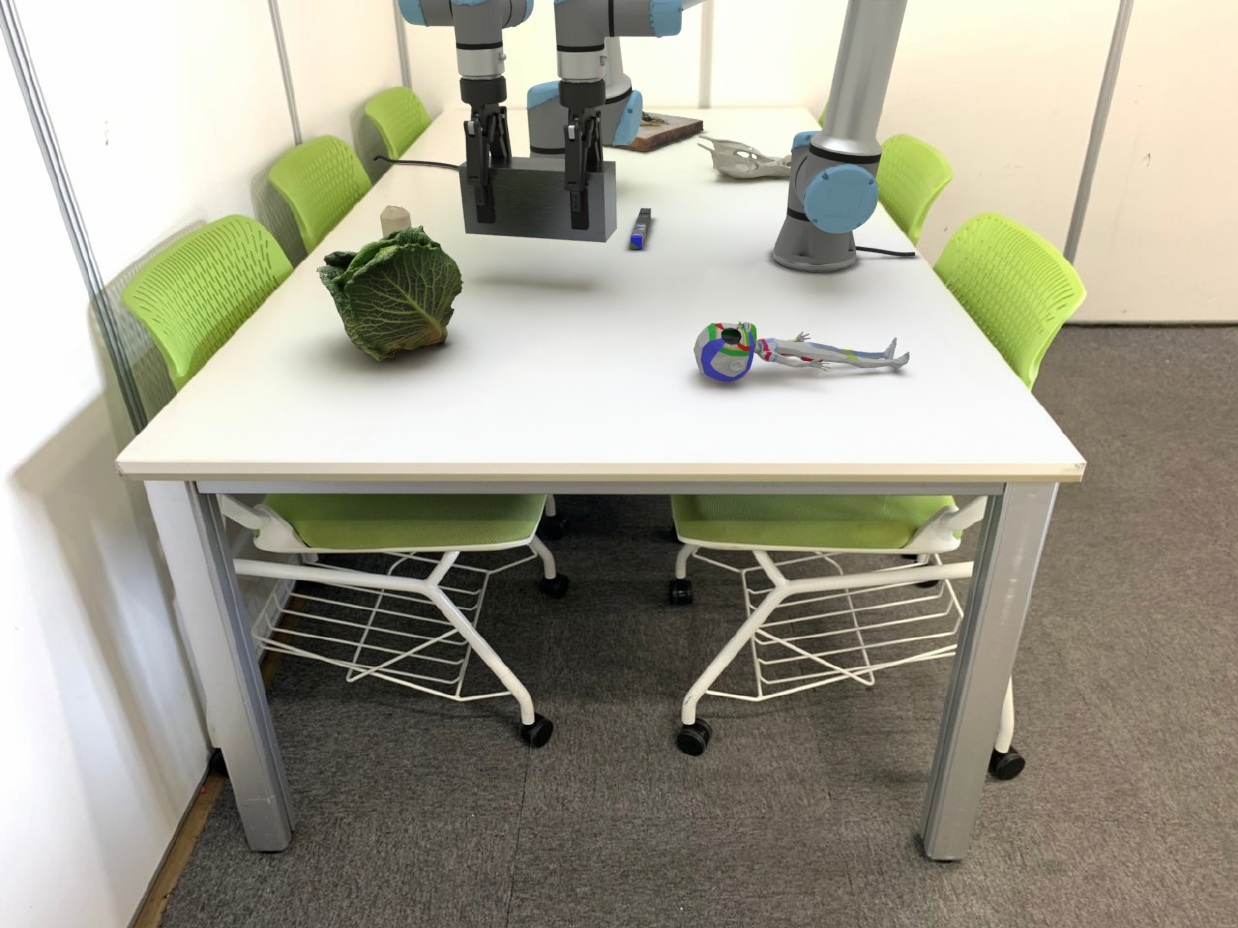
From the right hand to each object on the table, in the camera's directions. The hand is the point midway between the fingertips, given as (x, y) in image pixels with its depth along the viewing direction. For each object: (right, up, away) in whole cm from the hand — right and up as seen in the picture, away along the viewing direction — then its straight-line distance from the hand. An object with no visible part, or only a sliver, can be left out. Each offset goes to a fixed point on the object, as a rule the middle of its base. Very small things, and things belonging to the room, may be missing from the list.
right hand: (586, 221), depth 154 cm
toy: (+31, -29, -25) cm, 49 cm away
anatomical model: (+37, +29, +66) cm, 81 cm away
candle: (-36, -2, +19) cm, 41 cm away
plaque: (+10, +53, +105) cm, 118 cm away
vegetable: (-28, -24, -15) cm, 40 cm away
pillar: (+10, +5, +30) cm, 32 cm away
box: (-8, -1, +3) cm, 9 cm away
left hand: (-16, +2, +4) cm, 17 cm away
